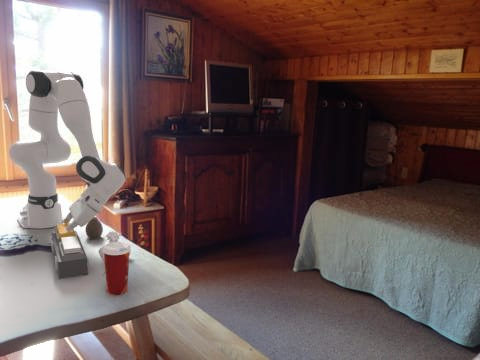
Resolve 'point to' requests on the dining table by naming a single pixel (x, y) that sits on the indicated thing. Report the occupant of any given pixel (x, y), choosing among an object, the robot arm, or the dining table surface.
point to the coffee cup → (116, 267)
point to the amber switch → (64, 230)
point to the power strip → (70, 265)
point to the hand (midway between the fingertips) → (65, 226)
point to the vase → (94, 228)
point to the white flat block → (70, 244)
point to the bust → (113, 238)
